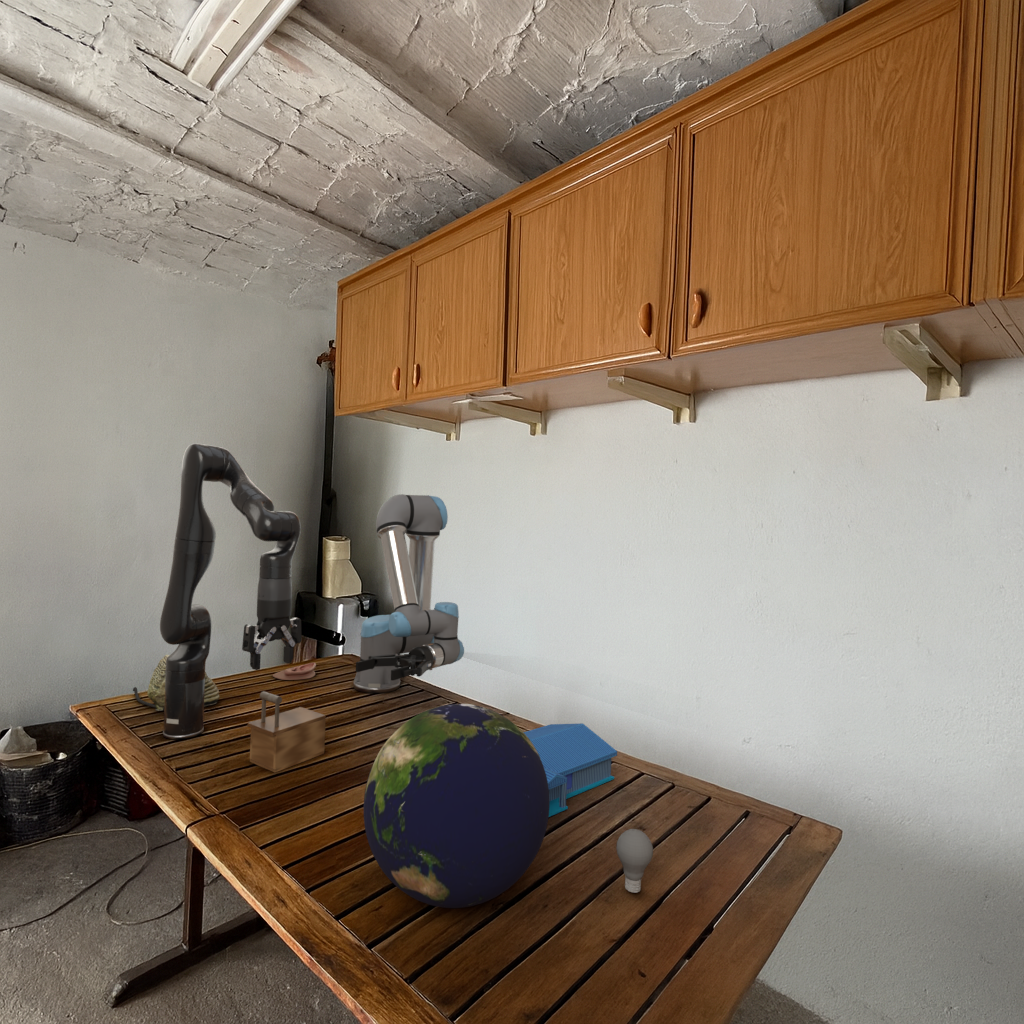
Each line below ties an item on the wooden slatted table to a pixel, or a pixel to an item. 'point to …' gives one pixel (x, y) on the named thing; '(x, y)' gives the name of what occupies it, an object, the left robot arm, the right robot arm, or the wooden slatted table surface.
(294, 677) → the anatomical model
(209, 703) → the fossil
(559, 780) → the model building
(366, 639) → the right robot arm
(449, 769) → the globe
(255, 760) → the chest
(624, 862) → the light bulb
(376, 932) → the wooden slatted table surface
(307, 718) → the lid
